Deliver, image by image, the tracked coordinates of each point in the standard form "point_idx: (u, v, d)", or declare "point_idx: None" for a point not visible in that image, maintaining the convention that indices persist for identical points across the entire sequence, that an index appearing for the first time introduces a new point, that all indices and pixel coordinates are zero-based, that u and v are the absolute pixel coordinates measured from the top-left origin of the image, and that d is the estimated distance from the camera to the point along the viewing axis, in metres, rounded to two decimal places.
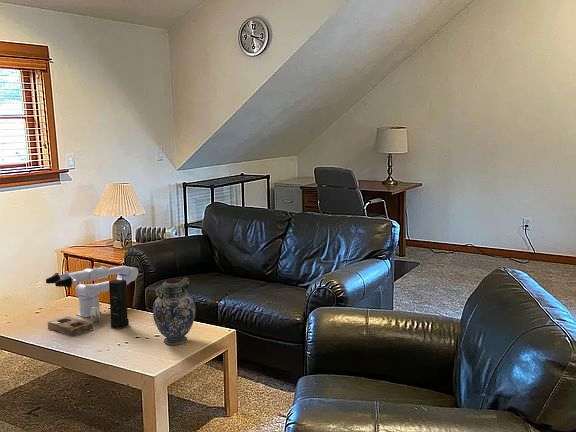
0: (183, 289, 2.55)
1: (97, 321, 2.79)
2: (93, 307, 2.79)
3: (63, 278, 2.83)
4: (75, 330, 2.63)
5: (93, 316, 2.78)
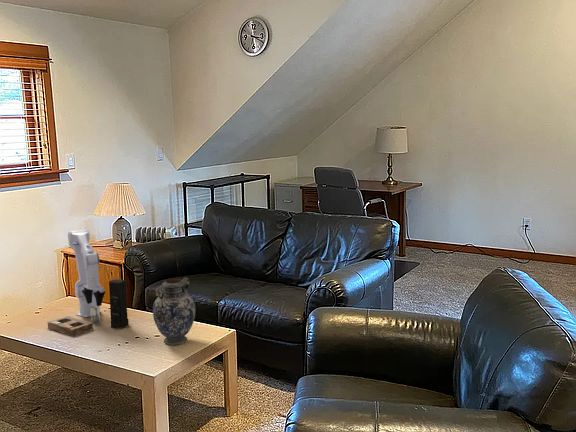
0: (183, 289, 2.55)
1: (97, 321, 2.79)
2: (93, 307, 2.79)
3: None
4: (75, 330, 2.63)
5: (93, 316, 2.78)
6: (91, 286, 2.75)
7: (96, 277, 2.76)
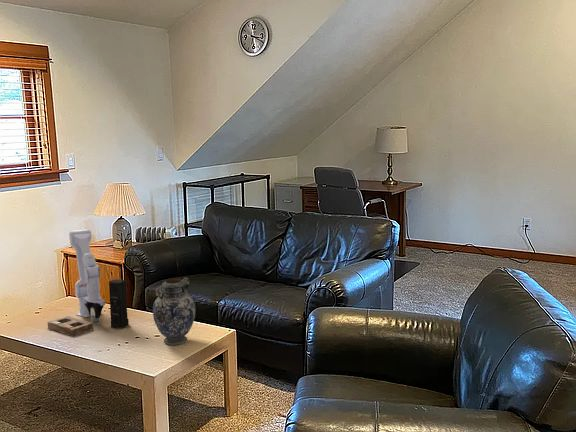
0: (183, 289, 2.55)
1: (97, 321, 2.79)
2: None
3: None
4: (75, 330, 2.63)
5: (93, 316, 2.78)
6: (92, 299, 2.76)
7: (97, 290, 2.77)
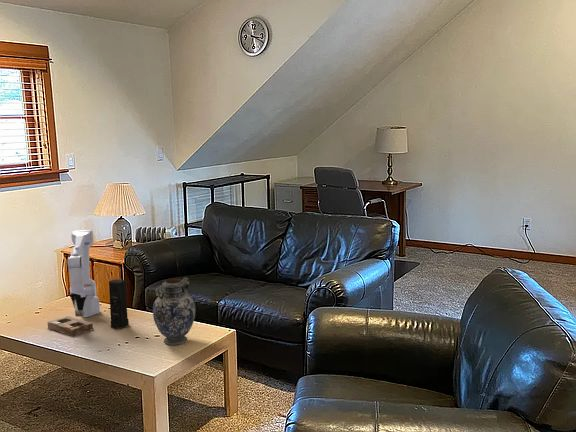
0: (183, 289, 2.55)
1: (80, 313, 2.69)
2: None
3: None
4: (75, 330, 2.63)
5: (76, 308, 2.68)
6: (74, 290, 2.66)
7: (78, 281, 2.66)
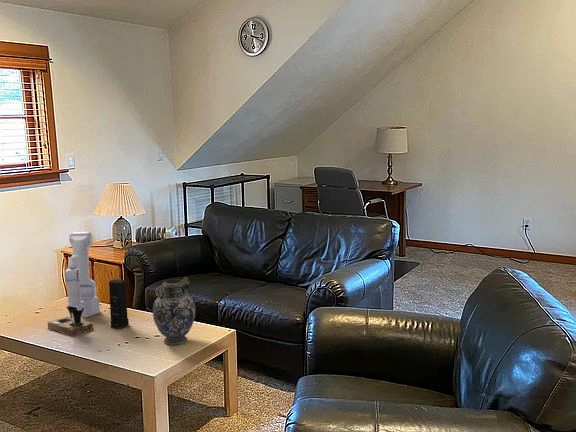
0: (183, 289, 2.55)
1: None
2: None
3: None
4: (75, 330, 2.63)
5: (73, 321, 2.67)
6: (71, 303, 2.65)
7: (75, 294, 2.65)
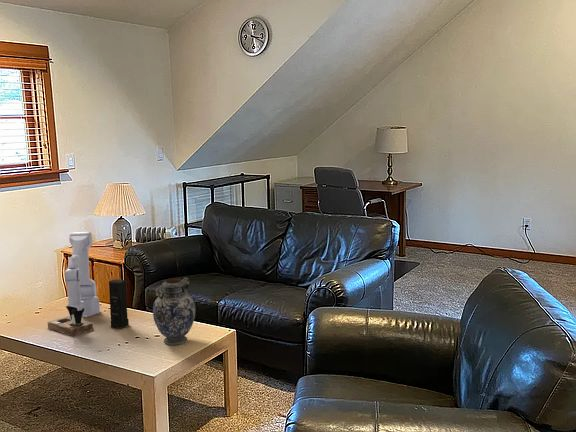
0: (183, 289, 2.55)
1: None
2: None
3: None
4: (75, 330, 2.63)
5: (73, 323, 2.68)
6: (71, 303, 2.65)
7: (75, 294, 2.65)
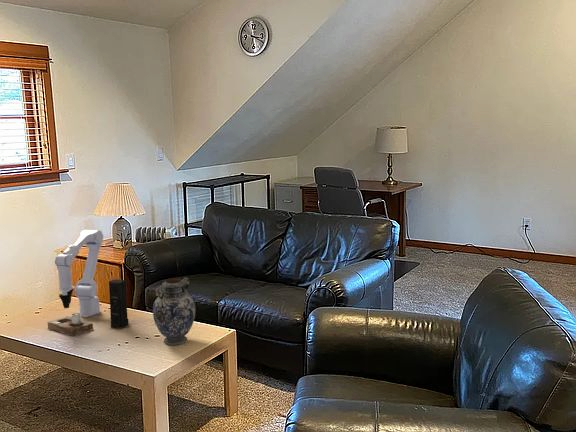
0: (183, 289, 2.55)
1: None
2: (74, 314, 2.69)
3: None
4: (75, 330, 2.63)
5: (74, 323, 2.68)
6: (60, 287, 2.74)
7: (64, 279, 2.73)
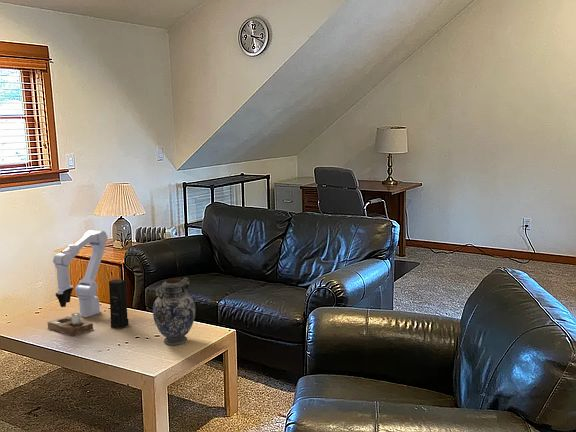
0: (183, 289, 2.55)
1: None
2: (74, 314, 2.68)
3: (63, 289, 2.77)
4: (75, 330, 2.63)
5: (73, 323, 2.68)
6: (58, 286, 2.76)
7: (61, 278, 2.75)
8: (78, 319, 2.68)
